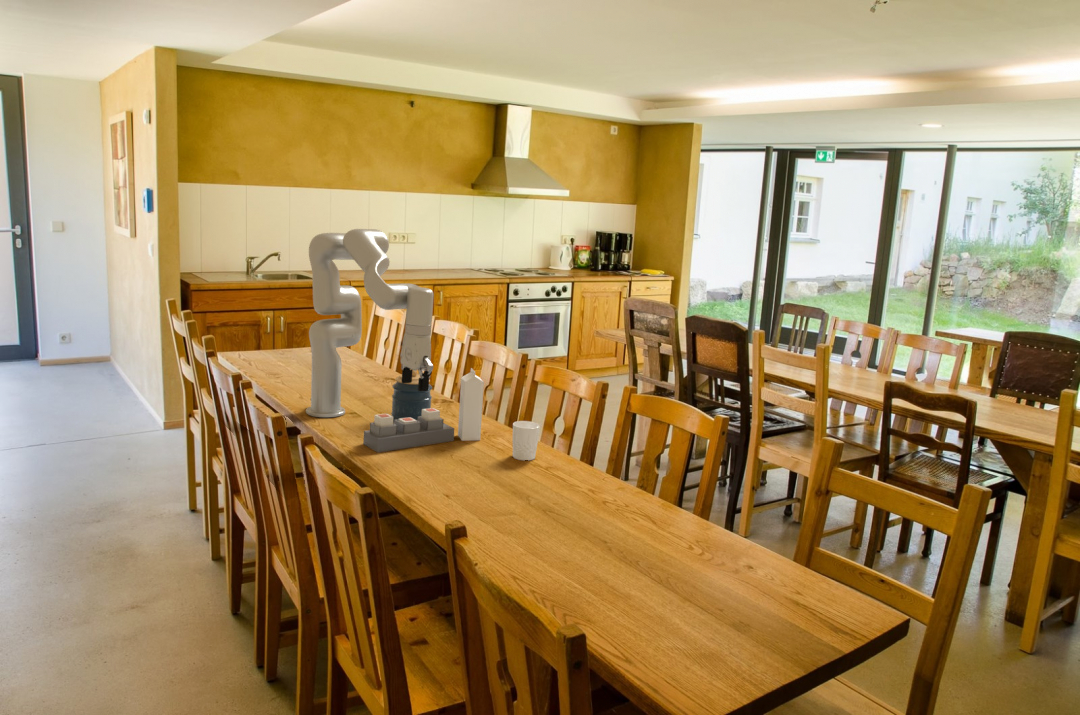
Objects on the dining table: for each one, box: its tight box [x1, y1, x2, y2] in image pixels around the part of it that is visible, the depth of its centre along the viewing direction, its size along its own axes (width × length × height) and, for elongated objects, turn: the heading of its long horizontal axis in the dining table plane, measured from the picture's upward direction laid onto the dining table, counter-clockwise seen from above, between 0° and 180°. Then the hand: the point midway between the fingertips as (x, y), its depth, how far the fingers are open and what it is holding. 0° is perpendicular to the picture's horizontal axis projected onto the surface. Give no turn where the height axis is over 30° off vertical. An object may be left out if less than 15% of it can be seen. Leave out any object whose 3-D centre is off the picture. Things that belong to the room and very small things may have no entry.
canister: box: [390, 370, 433, 423], centre depth 253 cm, size 13×13×18 cm
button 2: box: [398, 417, 417, 424], centre depth 230 cm, size 4×4×3 cm
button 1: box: [373, 413, 394, 427], centre depth 224 cm, size 4×4×3 cm
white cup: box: [512, 420, 541, 461], centre depth 225 cm, size 8×8×10 cm
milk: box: [457, 367, 485, 442], centre depth 239 cm, size 6×6×22 cm
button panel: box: [362, 416, 455, 453], centre depth 231 cm, size 9×26×7 cm, turn 130°
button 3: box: [421, 407, 441, 421], centre depth 235 cm, size 4×4×3 cm
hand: (414, 386), depth 226 cm, fingers open, 9 cm apart
